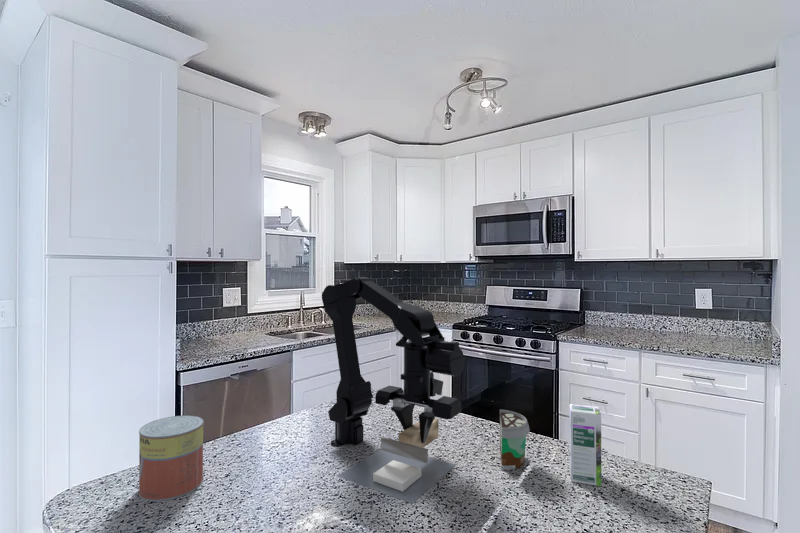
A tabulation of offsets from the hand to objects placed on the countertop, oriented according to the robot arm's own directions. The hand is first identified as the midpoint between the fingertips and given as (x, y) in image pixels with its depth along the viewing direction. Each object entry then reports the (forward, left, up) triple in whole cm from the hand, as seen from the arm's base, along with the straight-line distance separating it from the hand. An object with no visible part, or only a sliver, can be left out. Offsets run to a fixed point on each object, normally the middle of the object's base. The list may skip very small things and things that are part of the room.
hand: (416, 440), depth 89 cm
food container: (+17, +14, -6) cm, 23 cm away
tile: (0, -4, -4) cm, 6 cm away
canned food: (-37, -33, -6) cm, 50 cm away
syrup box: (+31, +16, -6) cm, 35 cm away
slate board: (-2, -4, -6) cm, 8 cm away
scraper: (0, +1, -1) cm, 2 cm away
